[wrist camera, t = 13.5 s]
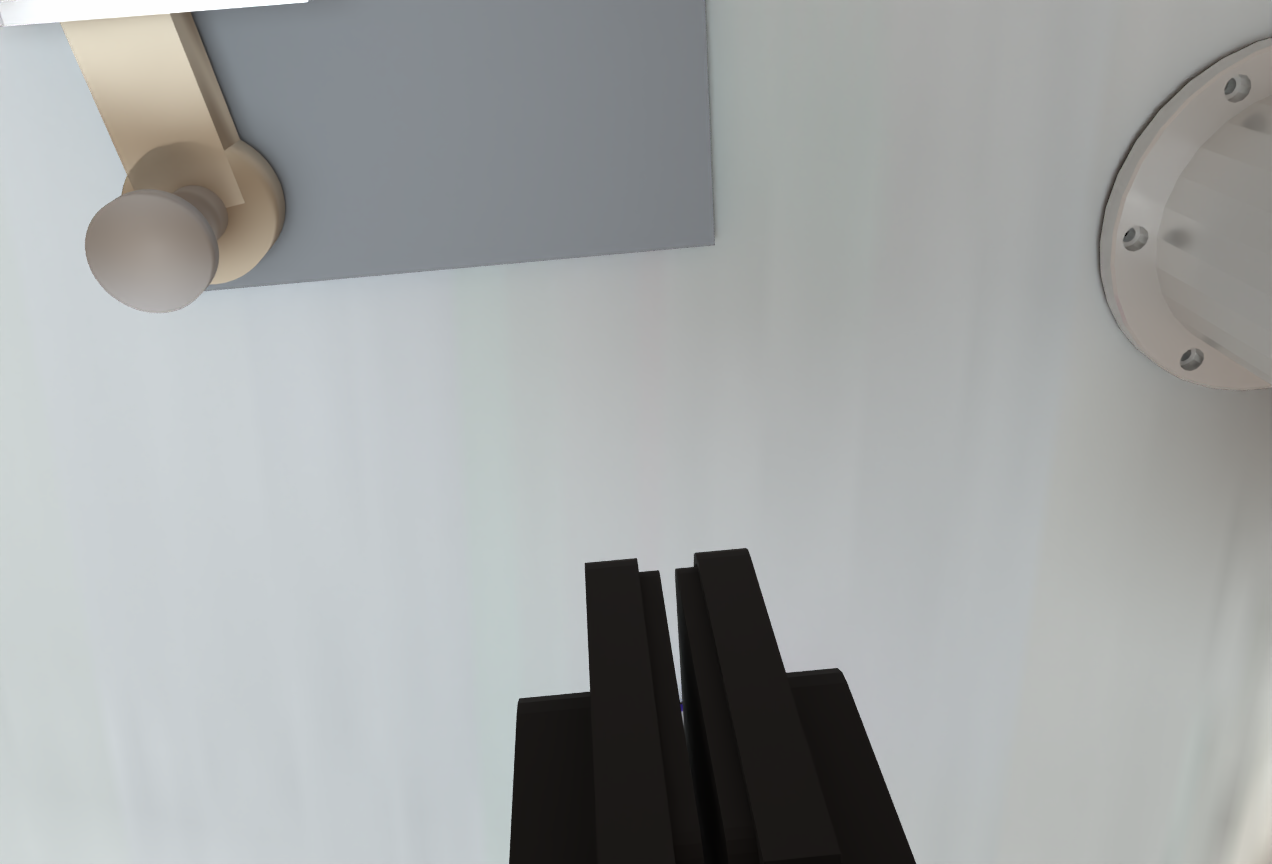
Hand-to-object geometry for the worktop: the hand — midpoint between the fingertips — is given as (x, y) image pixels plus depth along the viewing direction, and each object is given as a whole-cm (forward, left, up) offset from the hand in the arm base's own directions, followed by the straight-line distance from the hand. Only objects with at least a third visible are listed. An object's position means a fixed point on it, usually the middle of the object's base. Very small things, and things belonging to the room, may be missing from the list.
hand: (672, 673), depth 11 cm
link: (+13, -7, -26) cm, 30 cm away
